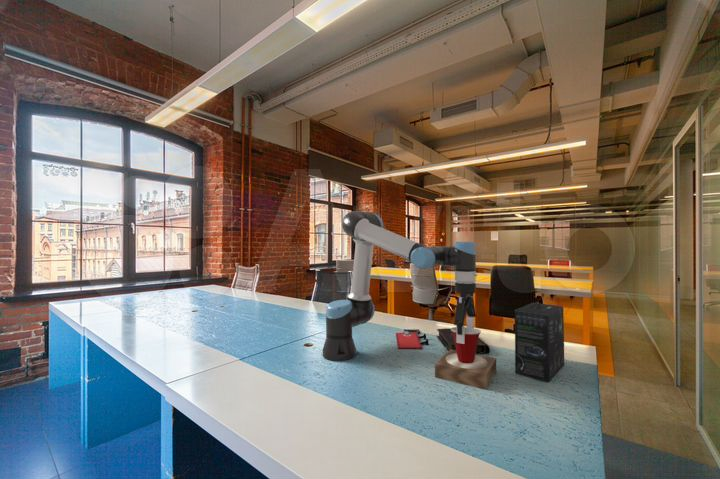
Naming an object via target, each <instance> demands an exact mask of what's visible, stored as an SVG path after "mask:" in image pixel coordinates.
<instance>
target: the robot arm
mask: <svg viewBox="0 0 720 479" xmlns="http://www.w3.org/2000/svg"><path fill="white" fill-rule="evenodd" d="M341 228H342V230H343V232H344V233H345V234H346V235H347V236H349V237H351V238H352V241H353V242H354V243H355V249H354V256H353V258H354V259H353V266H352V267H353V268H352V277H351V278H352V279H351V290H350V293H348V294H347V296H346V297H347V298H346V299H339V300H334V301H331V302H329V303H328V304H327V305H326V308H325V330H326V331H325V332H326V336H325V337H326V338H325V341H324V344H323V348H322V358H323V359H326V360H329V361H335V362H336V361H337V362H338V361H347V360H351V359H353V358H355V357H356V356H357V347H356V345H355V341H354V339H353V328H354V327H357V326H359V325H363V324H366V323H368V322H369V321H370V320H372V319H373V317H374V315H375V311H376V310H375V308H376V307H375V304H374V302H373V301H372V296H371V295H370V283H371V274H372V264H373V256H374V253H373V252H374V246H377V247H379V248H380V249H383V250H385V251H387V252H390V253H391V254H394V255H396V256H398V257H401V258H402V259H405V260H407V261H409V262H411V263H412V265H413V266H414V267H415V268H417V269H430V268H433V267H434V268H435V267H439V266H447V267H449V266H453V267H454V281H455V283H454V291H455V293H458V294H459V296H457V297H456V306H455V315H454V321H453V326H455V327H456V343H461V344H465V327H468V328H474V329H475V318H477V314H476V313H477V312H476V308H475V307H476V306H475V302H474V294H475V293H476V292H477V284H476V281H477V280H476V279H477V276H478V274H477V273H476V268H477V267H476V266H477V264H476V262H477V261H476V260H477V253H476V243H475V242H474V241H454V246H441V245H440V246H436V245H434V246H426V245H424V244H422V243H419V242H417V241H414V240H412V239H409V238H408V237H405V236H403V235H400V234H397V233H395V232H393V231H390V230H388V229H386V228H384V223H383V220H382V218H381V217H380V216H379V215H378V214H377V213H373V212H370V211H369V212H368V211H359V210H353V211H349V212H348V213H346V214H345V215H344V216H343V217H342V221H341ZM465 318H466V326H465V324H464V323H465Z"/></svg>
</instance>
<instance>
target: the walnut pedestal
mask: <svg viewBox="0 0 720 479" xmlns="http://www.w3.org/2000/svg"><path fill="white" fill-rule="evenodd" d="M496 373H497V358H496V357H494V356H493V357H492V356H487V355H484V354H483V355H482V354H479V353H475V360H474V362H473V363H469V364H468V363H462V362H460V361H458V357H457V352H456V350H452V349H450V350H449V351H448V350H447V351H446V352H445V353H444V355H442V356H441V357H440V358H439V359H438V360H437V361H436V362H434V378H436V379H441V380H445V381H450V382H453V383H457V384H461V385H466V386H469V387H473V388H478V389H481V390H488V387H489V386H490V384H491V382H492V380H493V379H494V376H495V375H496Z"/></svg>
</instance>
